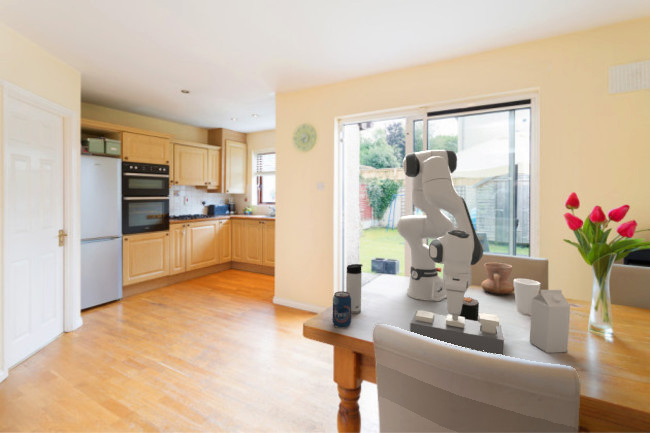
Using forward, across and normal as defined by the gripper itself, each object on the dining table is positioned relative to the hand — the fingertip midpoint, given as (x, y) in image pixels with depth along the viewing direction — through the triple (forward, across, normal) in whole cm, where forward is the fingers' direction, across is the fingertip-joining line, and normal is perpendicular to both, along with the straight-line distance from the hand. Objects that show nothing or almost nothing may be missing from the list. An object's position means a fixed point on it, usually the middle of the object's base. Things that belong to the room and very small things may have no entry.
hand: (455, 318), depth 105 cm
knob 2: (+3, 0, +10) cm, 10 cm away
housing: (+7, 0, 0) cm, 7 cm away
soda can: (+7, +7, -39) cm, 40 cm away
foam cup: (+7, -40, +25) cm, 48 cm away
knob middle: (+5, 0, 0) cm, 5 cm away
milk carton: (+7, -7, +28) cm, 29 cm away
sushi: (+7, -21, +3) cm, 22 cm away
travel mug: (+7, -8, -40) cm, 41 cm away
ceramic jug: (+7, -64, +16) cm, 66 cm away
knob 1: (+6, 0, -10) cm, 11 cm away
